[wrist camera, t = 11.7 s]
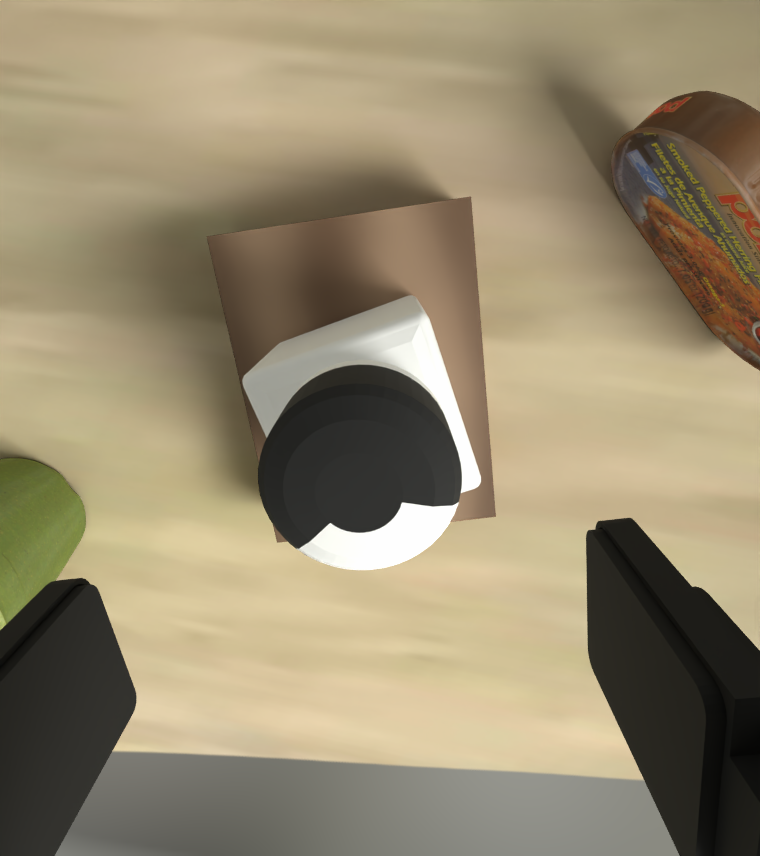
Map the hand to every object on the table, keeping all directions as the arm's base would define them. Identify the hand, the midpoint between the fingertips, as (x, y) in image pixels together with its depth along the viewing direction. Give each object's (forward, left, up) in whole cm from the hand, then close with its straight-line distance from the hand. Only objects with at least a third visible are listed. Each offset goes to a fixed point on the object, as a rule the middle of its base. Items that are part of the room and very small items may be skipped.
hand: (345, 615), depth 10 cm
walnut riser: (0, 0, -21) cm, 21 cm away
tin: (-18, -4, -22) cm, 28 cm away
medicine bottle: (0, 0, -17) cm, 17 cm away
